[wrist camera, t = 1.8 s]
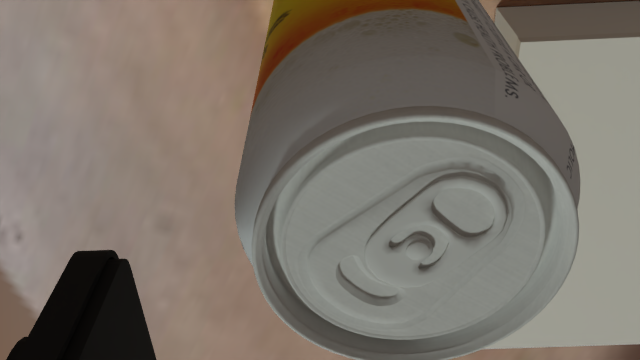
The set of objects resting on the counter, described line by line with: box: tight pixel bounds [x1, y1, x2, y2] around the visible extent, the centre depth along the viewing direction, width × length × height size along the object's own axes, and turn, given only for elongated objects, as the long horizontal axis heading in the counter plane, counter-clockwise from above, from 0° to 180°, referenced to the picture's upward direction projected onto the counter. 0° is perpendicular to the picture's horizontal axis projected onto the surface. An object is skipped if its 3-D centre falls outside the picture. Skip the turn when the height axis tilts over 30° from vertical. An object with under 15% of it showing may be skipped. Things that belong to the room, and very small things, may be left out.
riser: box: [483, 1, 640, 349], centre depth 25 cm, size 14×12×4 cm
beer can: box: [235, 0, 581, 360], centre depth 16 cm, size 6×6×15 cm
